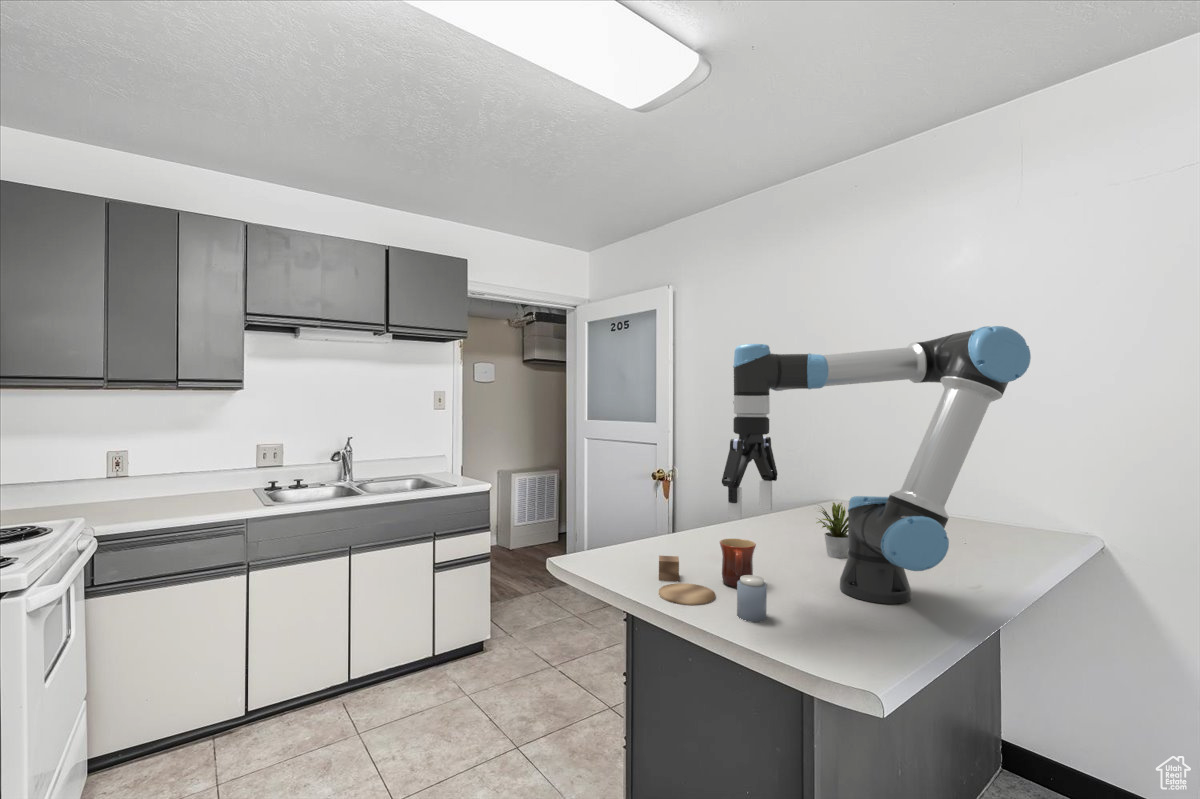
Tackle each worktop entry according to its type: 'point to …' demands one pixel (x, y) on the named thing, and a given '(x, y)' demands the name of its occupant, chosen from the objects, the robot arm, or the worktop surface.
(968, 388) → the robot arm
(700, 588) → the trivet
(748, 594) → the jar
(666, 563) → the block
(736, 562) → the mug
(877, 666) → the worktop surface
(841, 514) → the house plant
